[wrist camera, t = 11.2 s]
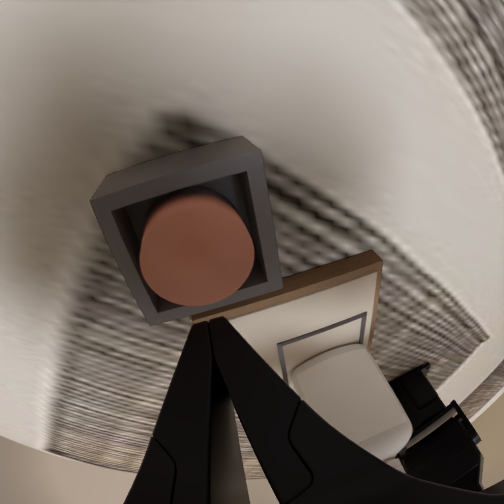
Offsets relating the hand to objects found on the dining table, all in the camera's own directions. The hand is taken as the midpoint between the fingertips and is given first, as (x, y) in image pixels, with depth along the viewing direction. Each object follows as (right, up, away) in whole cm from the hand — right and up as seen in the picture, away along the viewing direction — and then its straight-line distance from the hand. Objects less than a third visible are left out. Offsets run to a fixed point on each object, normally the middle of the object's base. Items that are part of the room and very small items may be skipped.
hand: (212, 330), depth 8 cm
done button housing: (-2, +4, +6) cm, 7 cm away
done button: (-1, +3, +4) cm, 5 cm away
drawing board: (+4, -4, +12) cm, 14 cm away
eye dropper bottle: (+6, -6, +12) cm, 15 cm away
